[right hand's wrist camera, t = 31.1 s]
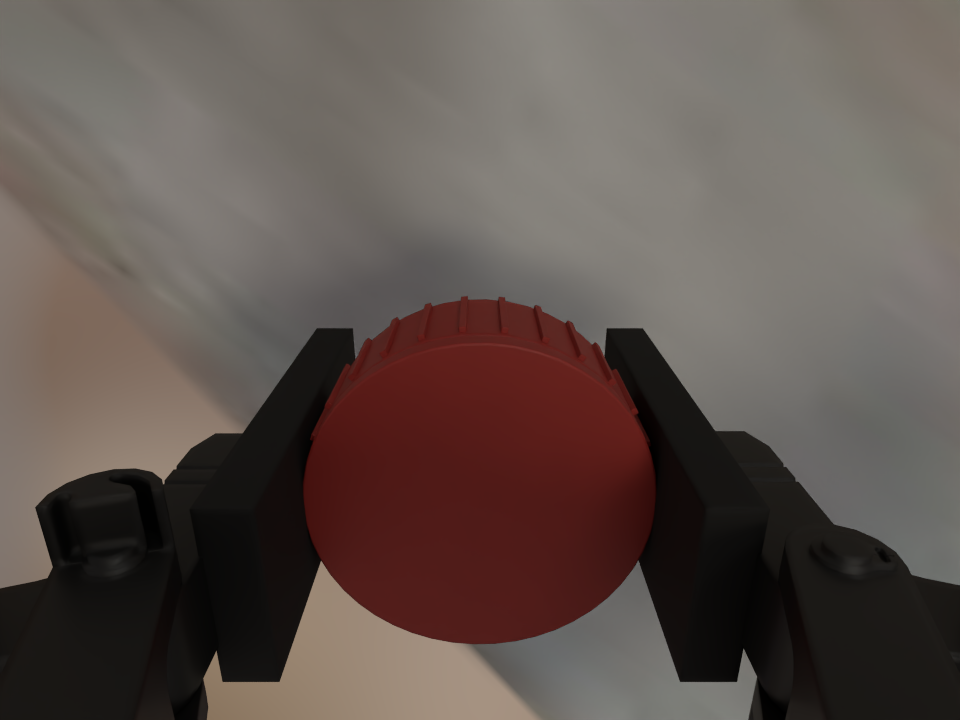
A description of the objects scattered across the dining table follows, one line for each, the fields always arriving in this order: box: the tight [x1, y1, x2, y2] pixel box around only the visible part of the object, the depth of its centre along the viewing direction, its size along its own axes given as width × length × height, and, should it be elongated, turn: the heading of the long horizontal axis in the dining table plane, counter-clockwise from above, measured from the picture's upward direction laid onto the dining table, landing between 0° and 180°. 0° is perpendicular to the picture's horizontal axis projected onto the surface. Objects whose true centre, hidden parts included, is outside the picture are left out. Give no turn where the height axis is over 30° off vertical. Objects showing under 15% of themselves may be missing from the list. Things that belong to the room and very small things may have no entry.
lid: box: [303, 296, 657, 644], centre depth 11 cm, size 6×6×2 cm
